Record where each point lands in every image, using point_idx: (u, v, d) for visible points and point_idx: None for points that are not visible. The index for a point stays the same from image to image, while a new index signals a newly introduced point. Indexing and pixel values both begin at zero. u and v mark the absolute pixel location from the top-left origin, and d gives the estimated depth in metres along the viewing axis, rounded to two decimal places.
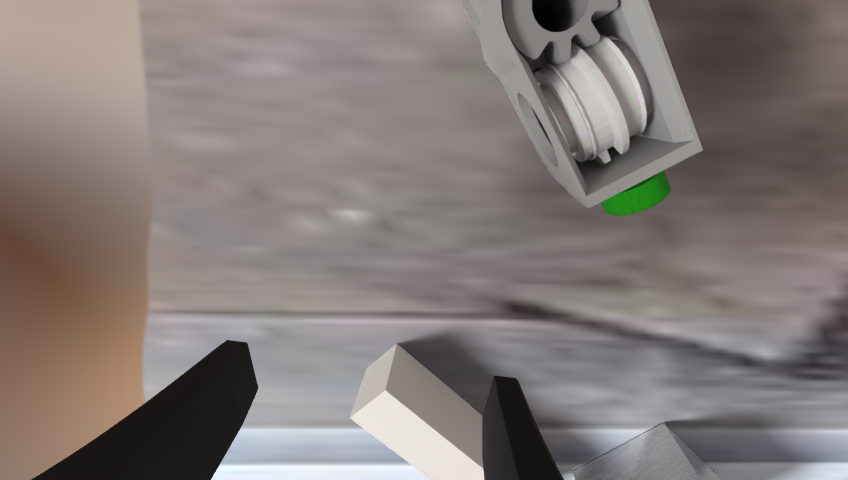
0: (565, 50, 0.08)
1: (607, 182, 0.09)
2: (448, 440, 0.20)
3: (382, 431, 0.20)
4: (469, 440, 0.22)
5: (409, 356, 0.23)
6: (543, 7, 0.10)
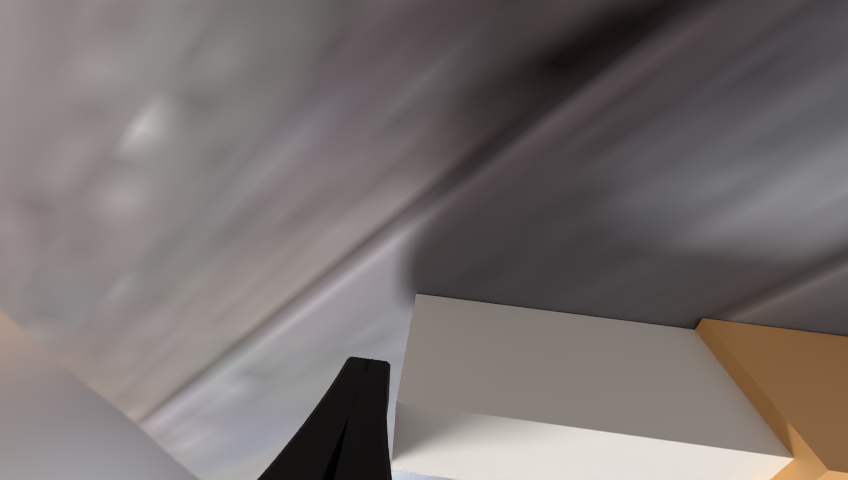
0: None
1: None
2: (604, 428, 0.08)
3: (462, 467, 0.09)
4: (660, 396, 0.09)
5: (450, 301, 0.12)
6: None
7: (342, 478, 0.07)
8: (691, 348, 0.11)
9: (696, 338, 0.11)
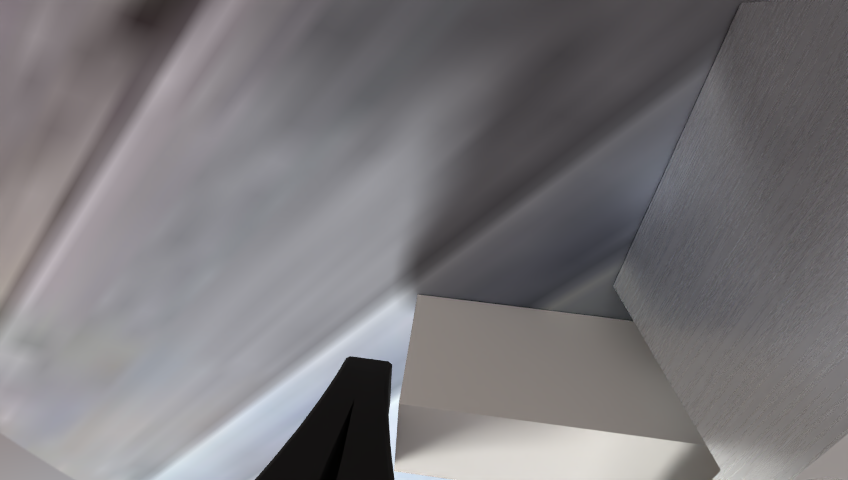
0: None
1: None
2: (607, 429, 0.08)
3: (465, 468, 0.09)
4: (662, 395, 0.09)
5: (452, 302, 0.12)
6: None
7: (345, 478, 0.07)
8: None
9: None
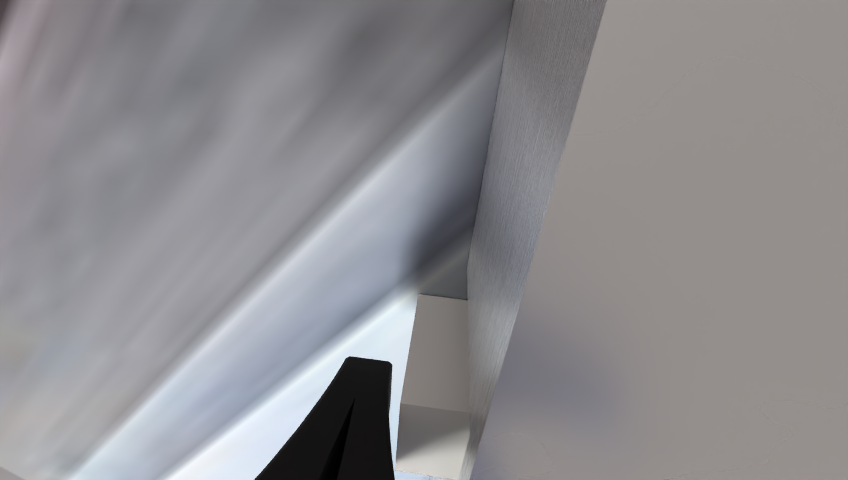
0: None
1: None
2: None
3: None
4: None
5: (453, 302, 0.12)
6: None
7: (345, 478, 0.07)
8: None
9: None
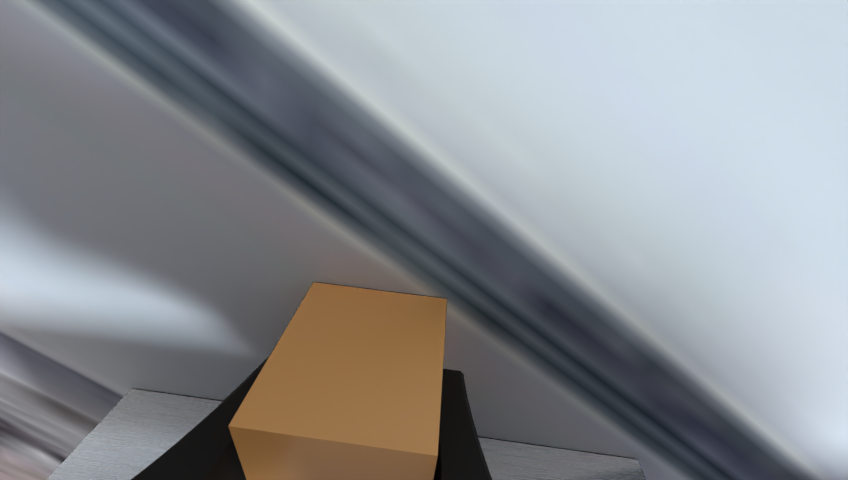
0: None
1: None
2: None
3: None
4: None
5: None
6: None
7: None
8: None
9: None
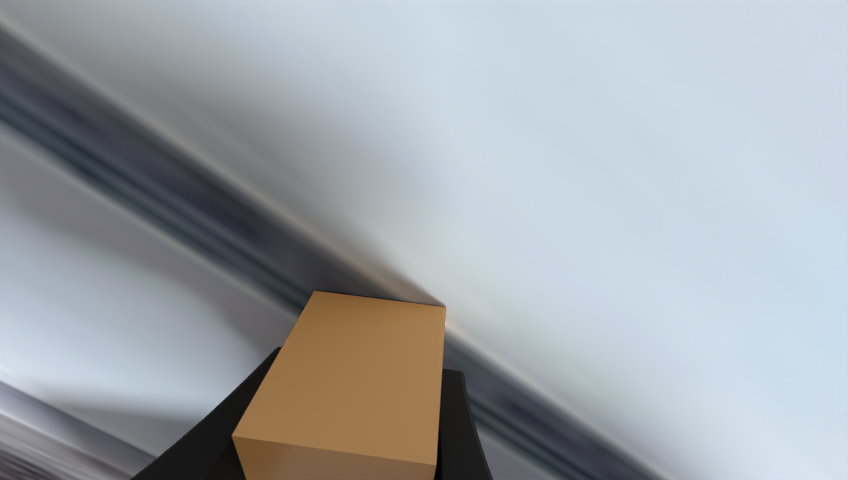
0: None
1: None
2: None
3: None
4: None
5: None
6: None
7: None
8: None
9: None
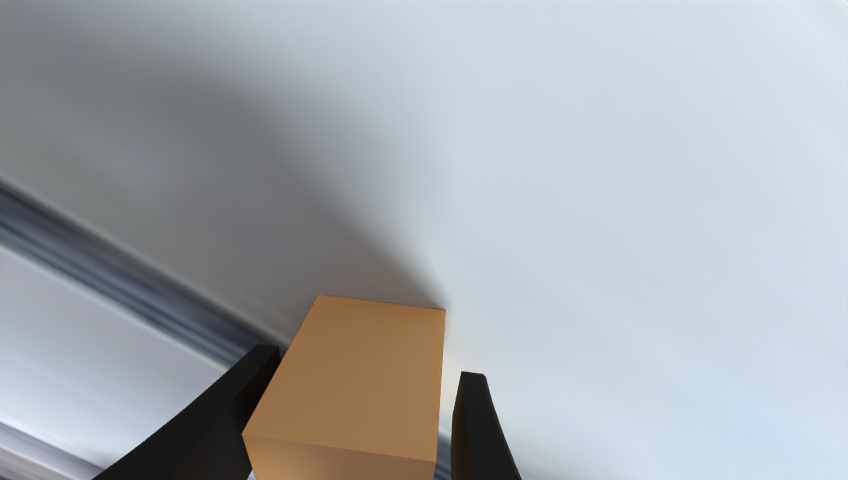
0: None
1: None
2: None
3: None
4: None
5: None
6: None
7: None
8: None
9: None
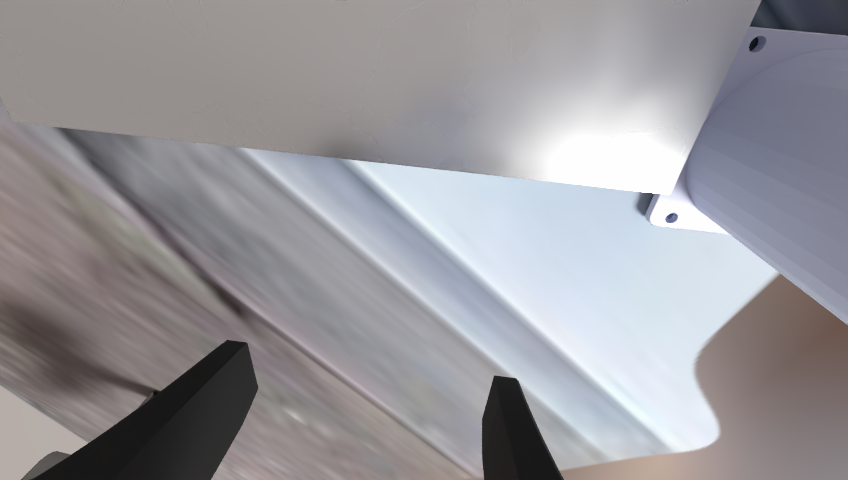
0: None
1: None
2: None
3: None
4: None
5: None
6: None
7: None
8: None
9: None
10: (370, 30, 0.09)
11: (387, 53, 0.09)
